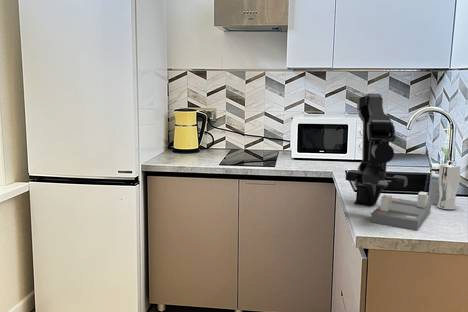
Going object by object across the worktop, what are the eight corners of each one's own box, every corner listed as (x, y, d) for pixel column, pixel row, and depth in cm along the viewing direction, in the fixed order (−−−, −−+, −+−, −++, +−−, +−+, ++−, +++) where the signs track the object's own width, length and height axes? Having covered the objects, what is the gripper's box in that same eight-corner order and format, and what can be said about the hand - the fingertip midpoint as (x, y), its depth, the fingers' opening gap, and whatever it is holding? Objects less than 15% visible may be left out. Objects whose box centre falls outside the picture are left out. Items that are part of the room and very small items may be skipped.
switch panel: (370, 222, 147) (371, 212, 146) (389, 205, 167) (389, 197, 166) (417, 230, 140) (417, 220, 139) (430, 211, 160) (431, 203, 159)
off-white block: (416, 206, 154) (418, 193, 153) (419, 204, 158) (420, 191, 157) (424, 207, 153) (425, 195, 152) (426, 205, 156) (427, 192, 156)
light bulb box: (428, 197, 180) (430, 170, 178) (446, 199, 177) (449, 171, 176) (428, 203, 170) (431, 175, 168) (448, 206, 168) (451, 177, 166)
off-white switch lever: (380, 210, 149) (381, 197, 148) (383, 207, 152) (384, 194, 151) (387, 211, 148) (388, 198, 147) (390, 208, 151) (391, 195, 150)
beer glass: (446, 205, 169) (450, 164, 168) (461, 209, 163) (465, 167, 161) (431, 205, 167) (435, 164, 165) (445, 210, 160) (450, 167, 159)
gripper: (341, 157, 147) (338, 204, 150) (402, 164, 137) (397, 214, 140) (352, 153, 156) (349, 197, 159) (409, 159, 147) (405, 206, 149)
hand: (374, 204), depth 152 cm, fingers closed
